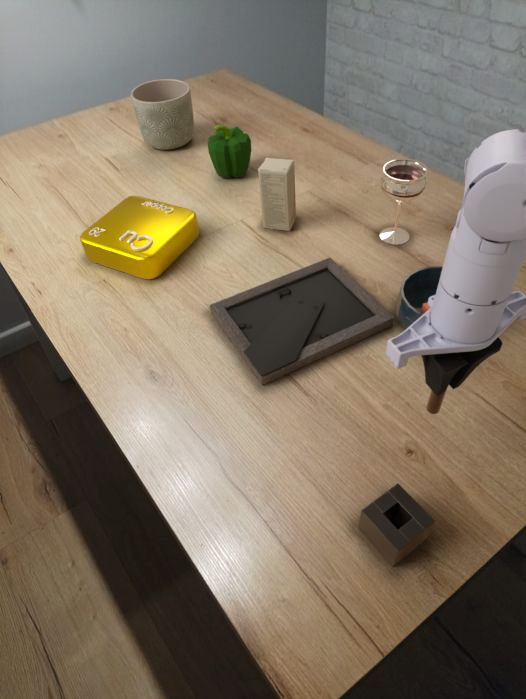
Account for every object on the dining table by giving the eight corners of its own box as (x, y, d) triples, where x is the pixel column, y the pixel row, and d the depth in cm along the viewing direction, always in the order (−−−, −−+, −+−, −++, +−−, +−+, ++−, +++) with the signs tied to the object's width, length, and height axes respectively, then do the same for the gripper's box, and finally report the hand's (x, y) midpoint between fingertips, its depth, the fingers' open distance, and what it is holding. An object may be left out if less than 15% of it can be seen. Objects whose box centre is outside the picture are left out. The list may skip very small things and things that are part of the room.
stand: (392, 500, 55) (397, 482, 52) (428, 537, 52) (435, 520, 49) (357, 527, 53) (361, 510, 51) (392, 567, 51) (398, 551, 48)
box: (296, 218, 92) (296, 159, 84) (289, 232, 89) (288, 173, 81) (268, 214, 93) (265, 156, 85) (261, 227, 91) (257, 169, 82)
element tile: (204, 232, 90) (200, 208, 87) (153, 283, 82) (146, 259, 78) (136, 213, 96) (130, 190, 92) (82, 259, 87) (72, 235, 84)
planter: (133, 153, 112) (120, 101, 104) (153, 127, 120) (143, 77, 112) (187, 156, 110) (178, 103, 102) (204, 130, 118) (197, 79, 110)
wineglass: (378, 221, 90) (386, 156, 81) (417, 227, 88) (431, 161, 79) (370, 244, 86) (378, 177, 77) (411, 250, 84) (425, 183, 75)
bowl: (482, 298, 76) (491, 275, 72) (474, 353, 69) (483, 330, 65) (404, 283, 79) (408, 260, 75) (389, 334, 72) (393, 311, 68)
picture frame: (262, 385, 67) (392, 325, 73) (261, 375, 65) (394, 315, 71) (211, 312, 77) (329, 265, 83) (209, 302, 75) (330, 255, 81)
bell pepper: (252, 161, 107) (249, 112, 99) (253, 182, 101) (249, 131, 94) (212, 164, 107) (206, 115, 100) (210, 184, 101) (204, 134, 94)
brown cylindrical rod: (440, 406, 57) (461, 344, 49) (438, 415, 56) (459, 354, 48) (427, 402, 57) (446, 340, 50) (425, 412, 56) (443, 350, 49)
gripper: (511, 234, 47) (473, 336, 57) (374, 281, 44) (360, 381, 54) (571, 278, 43) (519, 381, 53) (424, 334, 39) (398, 433, 49)
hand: (441, 384), depth 53 cm, fingers closed on brown cylindrical rod, 1 cm apart
